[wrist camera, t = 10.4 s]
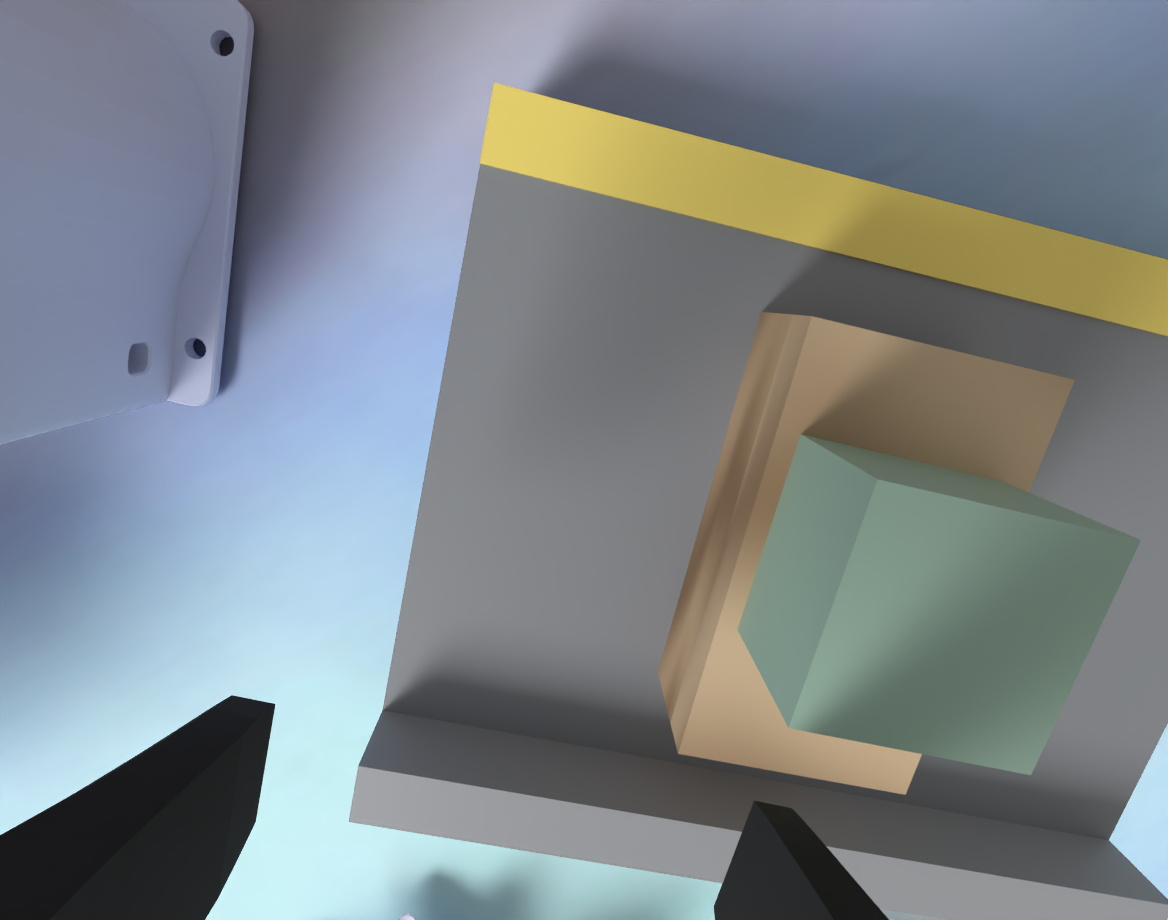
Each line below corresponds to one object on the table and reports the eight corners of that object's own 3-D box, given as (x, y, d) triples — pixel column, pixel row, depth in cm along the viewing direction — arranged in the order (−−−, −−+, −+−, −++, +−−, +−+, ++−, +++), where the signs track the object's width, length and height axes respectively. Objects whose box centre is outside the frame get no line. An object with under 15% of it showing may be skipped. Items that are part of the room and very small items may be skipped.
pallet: (846, 708, 17) (904, 794, 14) (657, 671, 16) (678, 754, 13) (973, 363, 15) (1075, 379, 12) (761, 311, 14) (812, 316, 11)
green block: (927, 669, 13) (1031, 775, 10) (737, 629, 13) (788, 728, 10) (1003, 481, 12) (1140, 539, 9) (800, 434, 12) (877, 479, 9)
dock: (1015, 803, 21) (1148, 952, 16) (401, 691, 20) (348, 821, 15) (1239, 311, 18) (1497, 318, 13) (507, 122, 16) (482, 47, 11)
